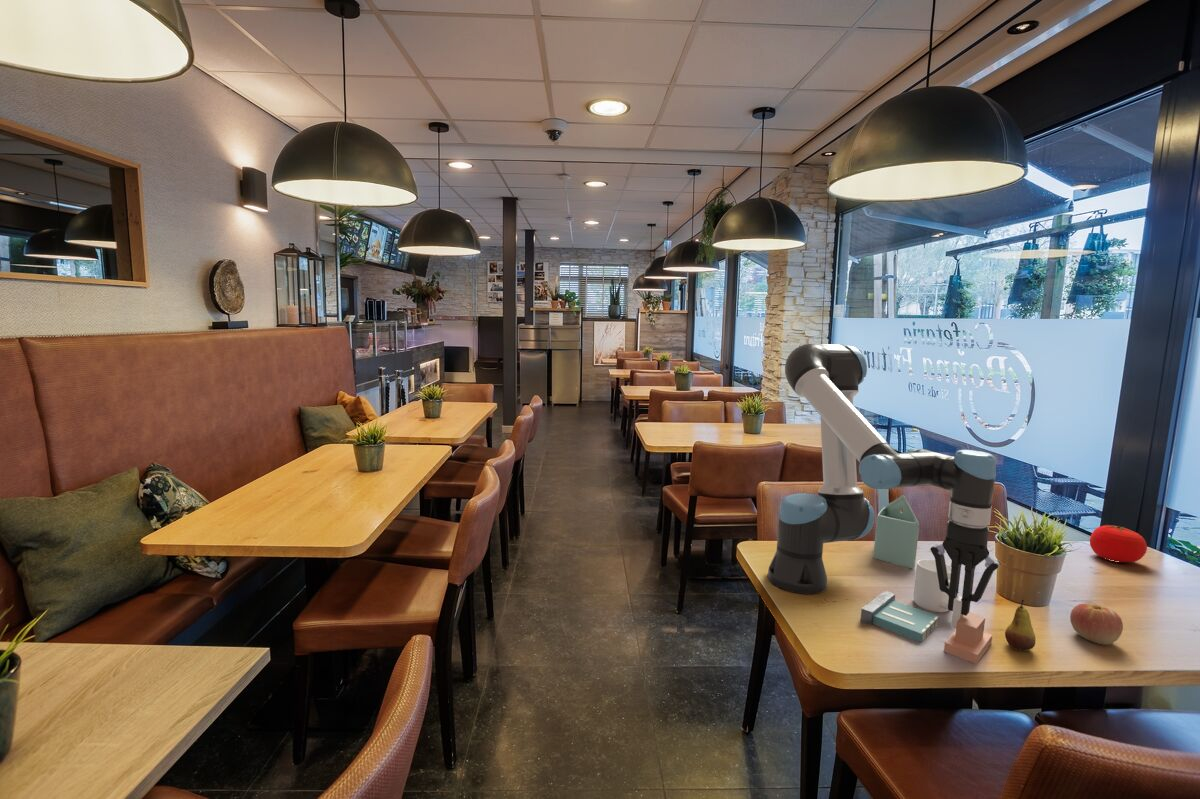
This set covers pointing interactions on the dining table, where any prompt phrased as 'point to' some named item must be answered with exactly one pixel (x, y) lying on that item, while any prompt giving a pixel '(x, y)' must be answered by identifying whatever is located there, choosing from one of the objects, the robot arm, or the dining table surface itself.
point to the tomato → (1118, 543)
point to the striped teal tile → (906, 620)
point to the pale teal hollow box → (896, 534)
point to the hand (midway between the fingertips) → (956, 626)
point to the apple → (1096, 623)
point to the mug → (930, 587)
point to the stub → (969, 638)
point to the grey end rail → (876, 606)
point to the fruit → (1020, 630)
